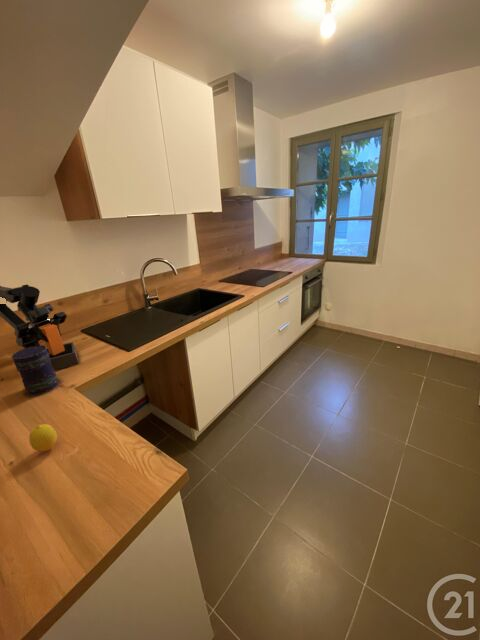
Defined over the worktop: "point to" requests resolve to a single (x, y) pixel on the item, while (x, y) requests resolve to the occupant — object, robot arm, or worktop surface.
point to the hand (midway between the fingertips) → (54, 339)
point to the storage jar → (35, 370)
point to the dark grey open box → (64, 357)
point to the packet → (53, 339)
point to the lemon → (42, 437)
